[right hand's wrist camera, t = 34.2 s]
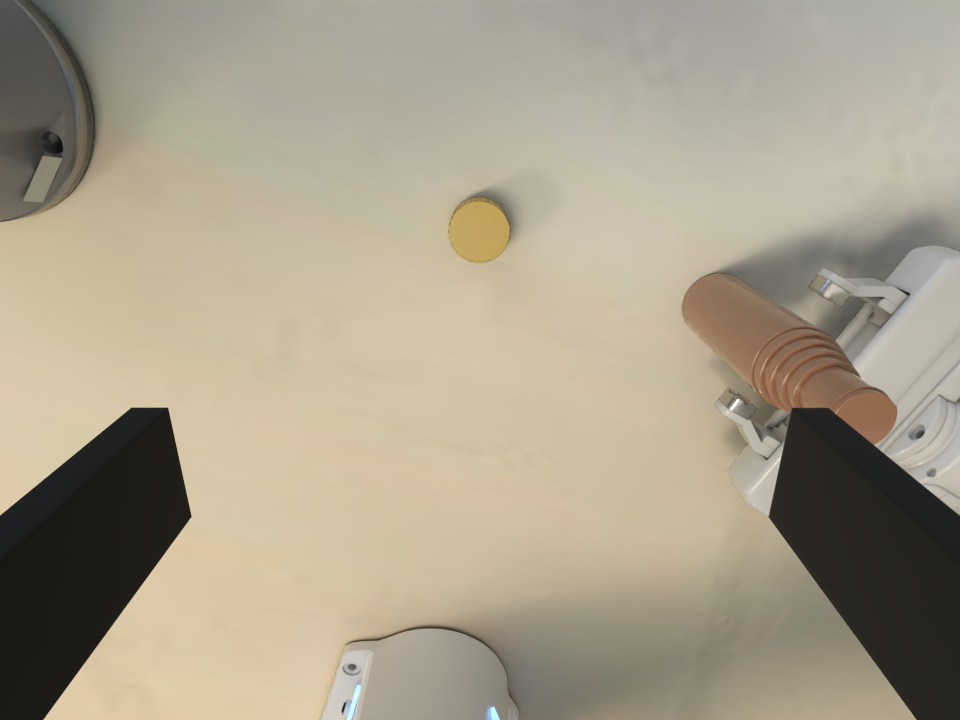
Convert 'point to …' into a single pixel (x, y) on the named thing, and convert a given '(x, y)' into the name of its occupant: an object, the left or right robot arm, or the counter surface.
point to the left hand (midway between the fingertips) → (769, 342)
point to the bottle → (784, 355)
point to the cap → (479, 230)
